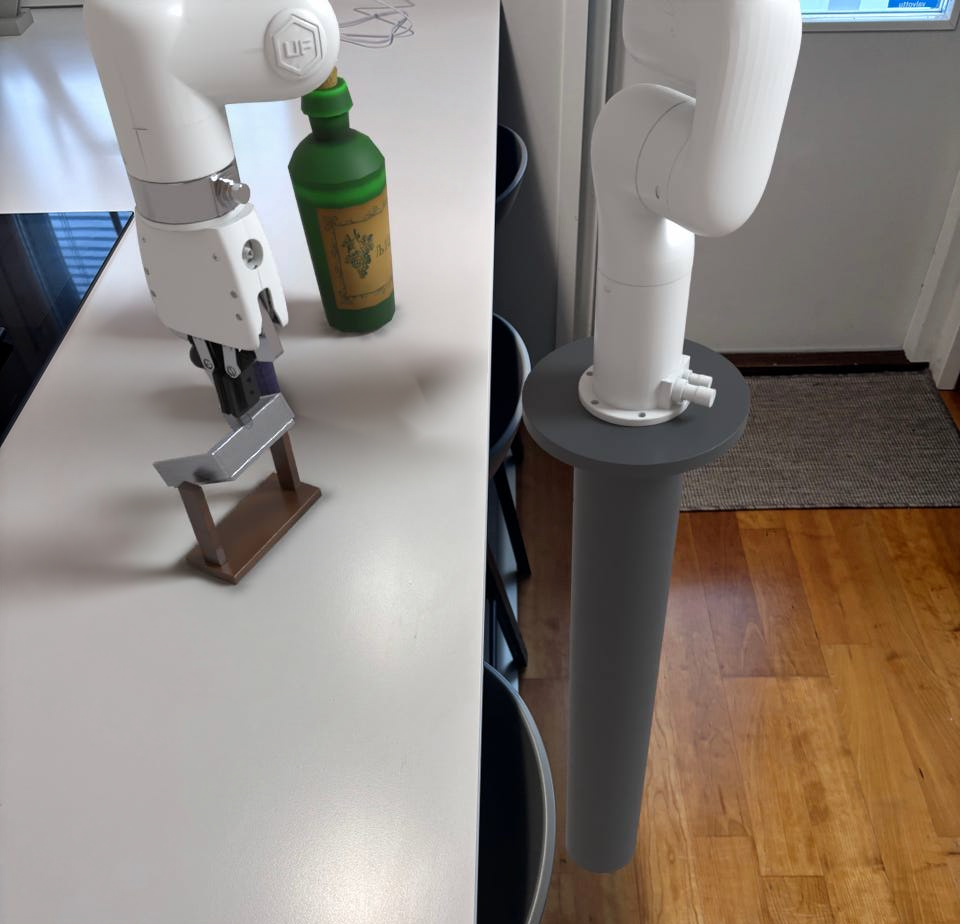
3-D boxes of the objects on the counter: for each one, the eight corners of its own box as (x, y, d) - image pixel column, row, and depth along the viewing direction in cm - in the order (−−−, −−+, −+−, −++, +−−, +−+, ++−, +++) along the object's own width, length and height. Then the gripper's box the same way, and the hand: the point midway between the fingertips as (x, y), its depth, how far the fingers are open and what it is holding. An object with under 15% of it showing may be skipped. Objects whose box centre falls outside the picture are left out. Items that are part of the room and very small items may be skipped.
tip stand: (322, 495, 99) (303, 413, 92) (236, 584, 92) (208, 502, 84) (274, 479, 102) (252, 397, 94) (187, 565, 94) (155, 483, 86)
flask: (248, 382, 113) (225, 297, 105) (273, 376, 114) (252, 290, 106) (265, 426, 108) (242, 339, 100) (291, 419, 108) (271, 333, 100)
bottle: (377, 348, 117) (338, 95, 96) (301, 331, 120) (248, 83, 99) (419, 304, 123) (391, 57, 102) (346, 289, 126) (305, 46, 105)
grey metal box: (304, 419, 89) (240, 311, 83) (237, 483, 84) (164, 372, 78) (237, 431, 95) (173, 332, 90) (171, 491, 90) (98, 389, 84)
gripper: (304, 185, 69) (340, 406, 83) (142, 150, 74) (200, 364, 88) (239, 230, 65) (287, 455, 78) (71, 190, 70) (144, 408, 83)
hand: (241, 406), depth 83 cm, fingers closed
